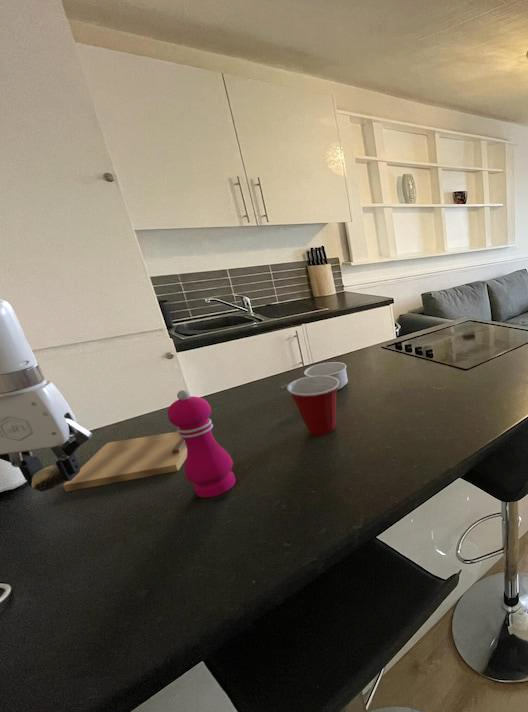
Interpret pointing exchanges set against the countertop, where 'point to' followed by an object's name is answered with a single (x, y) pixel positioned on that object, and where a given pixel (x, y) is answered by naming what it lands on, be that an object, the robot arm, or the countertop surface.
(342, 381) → the saucepan
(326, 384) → the plastic cup
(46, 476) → the brown rounded domed piece
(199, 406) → the pepper mill
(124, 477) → the serving board
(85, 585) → the countertop surface
